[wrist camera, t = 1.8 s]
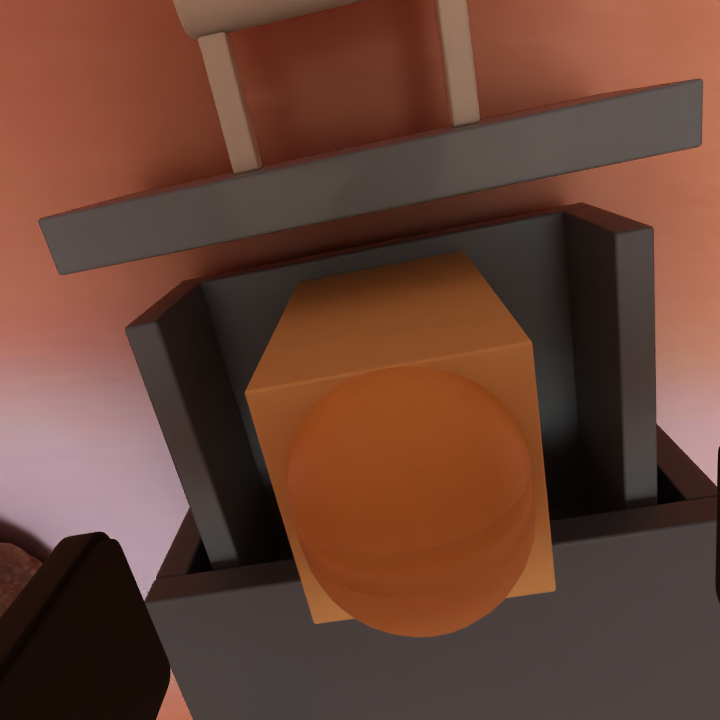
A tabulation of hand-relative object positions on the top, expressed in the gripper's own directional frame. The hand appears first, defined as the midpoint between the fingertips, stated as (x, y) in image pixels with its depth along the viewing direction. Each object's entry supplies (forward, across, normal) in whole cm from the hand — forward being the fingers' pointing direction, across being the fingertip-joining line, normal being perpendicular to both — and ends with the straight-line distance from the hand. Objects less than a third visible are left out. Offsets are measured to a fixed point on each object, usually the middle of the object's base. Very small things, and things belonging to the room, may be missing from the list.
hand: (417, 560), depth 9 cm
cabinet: (+11, 0, +10) cm, 15 cm away
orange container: (+8, 0, 0) cm, 8 cm away
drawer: (+9, 0, -2) cm, 10 cm away
